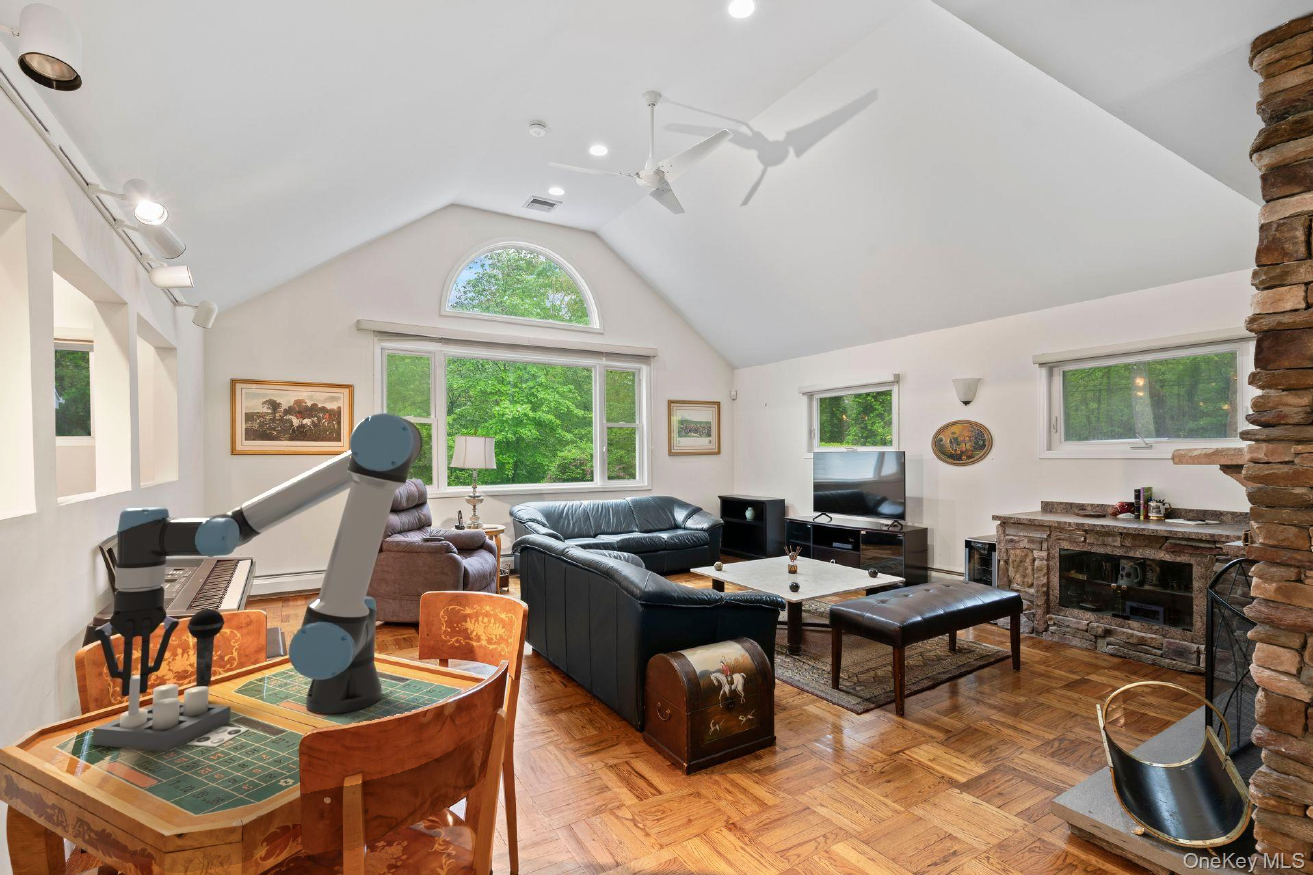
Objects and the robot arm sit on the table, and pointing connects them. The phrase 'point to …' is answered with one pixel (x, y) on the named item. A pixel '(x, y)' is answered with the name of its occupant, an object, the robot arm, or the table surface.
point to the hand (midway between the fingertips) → (133, 711)
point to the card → (218, 736)
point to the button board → (161, 739)
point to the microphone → (205, 641)
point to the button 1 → (133, 719)
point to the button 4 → (195, 701)
